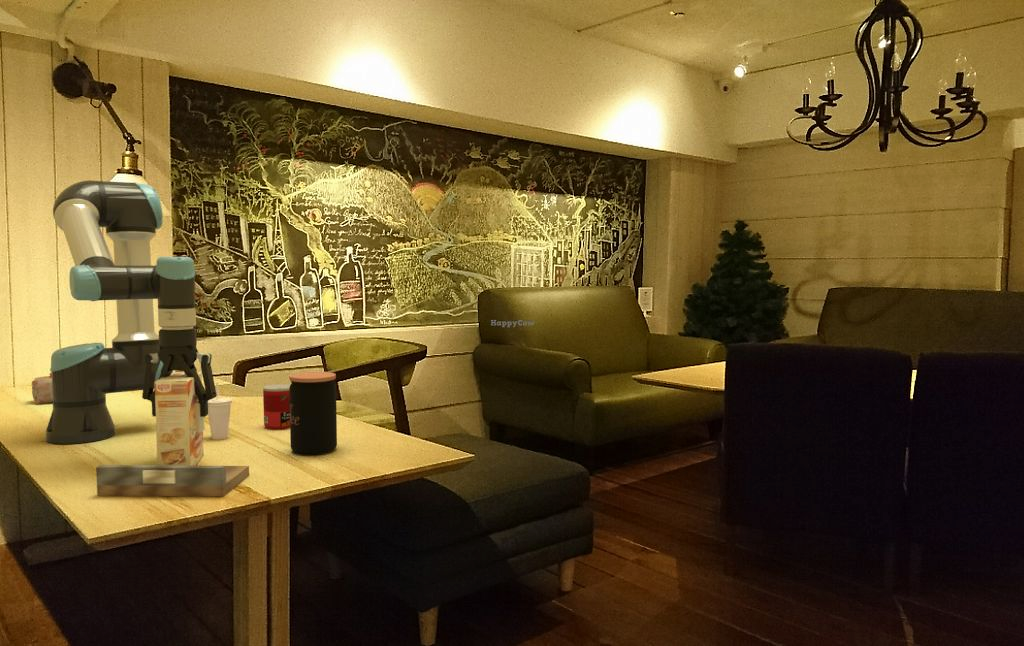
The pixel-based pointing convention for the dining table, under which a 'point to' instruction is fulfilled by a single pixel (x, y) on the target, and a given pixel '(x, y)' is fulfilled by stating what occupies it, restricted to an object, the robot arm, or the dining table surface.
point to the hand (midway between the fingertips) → (180, 431)
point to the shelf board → (168, 480)
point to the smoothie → (219, 416)
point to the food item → (42, 390)
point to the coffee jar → (313, 413)
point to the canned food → (276, 406)
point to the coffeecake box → (177, 421)
